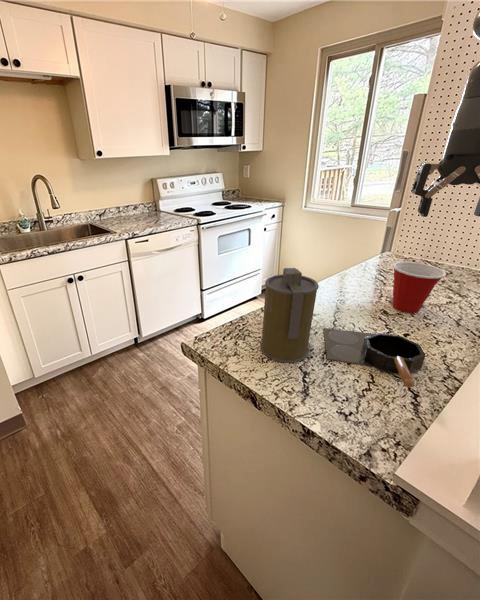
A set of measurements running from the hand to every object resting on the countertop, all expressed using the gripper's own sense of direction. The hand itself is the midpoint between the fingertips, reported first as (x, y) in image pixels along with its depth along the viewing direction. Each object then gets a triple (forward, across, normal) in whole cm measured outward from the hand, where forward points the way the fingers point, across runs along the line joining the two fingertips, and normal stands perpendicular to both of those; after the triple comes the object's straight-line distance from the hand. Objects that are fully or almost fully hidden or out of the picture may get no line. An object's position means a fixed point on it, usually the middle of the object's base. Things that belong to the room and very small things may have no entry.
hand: (450, 215), depth 63 cm
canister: (+28, -28, -16) cm, 43 cm away
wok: (+28, -7, -17) cm, 34 cm away
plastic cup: (+28, +2, +14) cm, 32 cm away
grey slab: (+28, -11, -10) cm, 32 cm away
